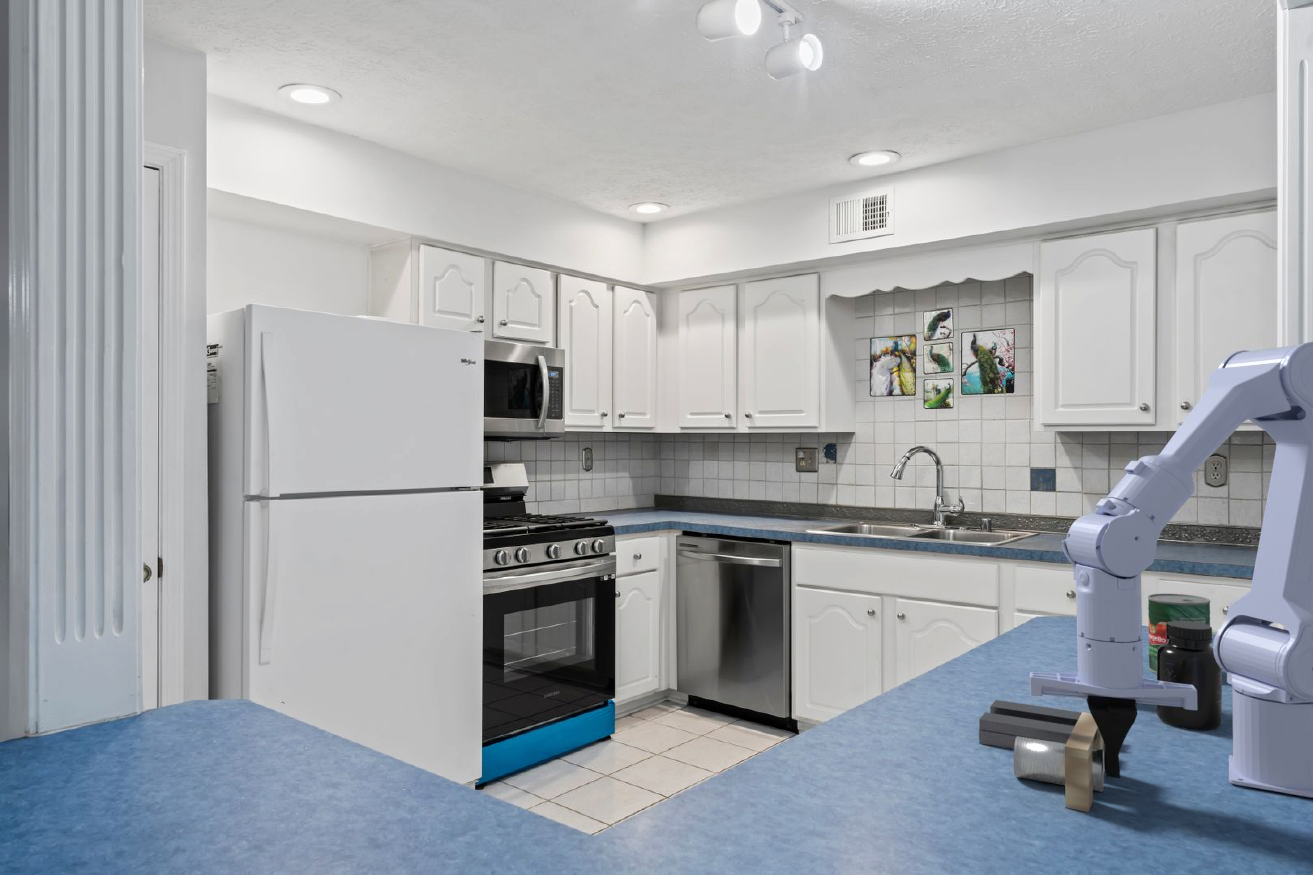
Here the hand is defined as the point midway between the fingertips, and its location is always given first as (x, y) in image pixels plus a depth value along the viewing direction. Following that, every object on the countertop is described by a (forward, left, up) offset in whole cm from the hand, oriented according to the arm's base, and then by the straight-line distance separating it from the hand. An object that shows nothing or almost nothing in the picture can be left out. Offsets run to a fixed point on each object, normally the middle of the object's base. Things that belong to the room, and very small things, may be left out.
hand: (1111, 773), depth 85 cm
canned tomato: (-4, -53, -2) cm, 53 cm away
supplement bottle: (-6, -28, -2) cm, 29 cm away
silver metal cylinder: (+5, 0, -2) cm, 5 cm away
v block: (+8, -12, -2) cm, 15 cm away
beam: (+2, 0, -2) cm, 3 cm away
